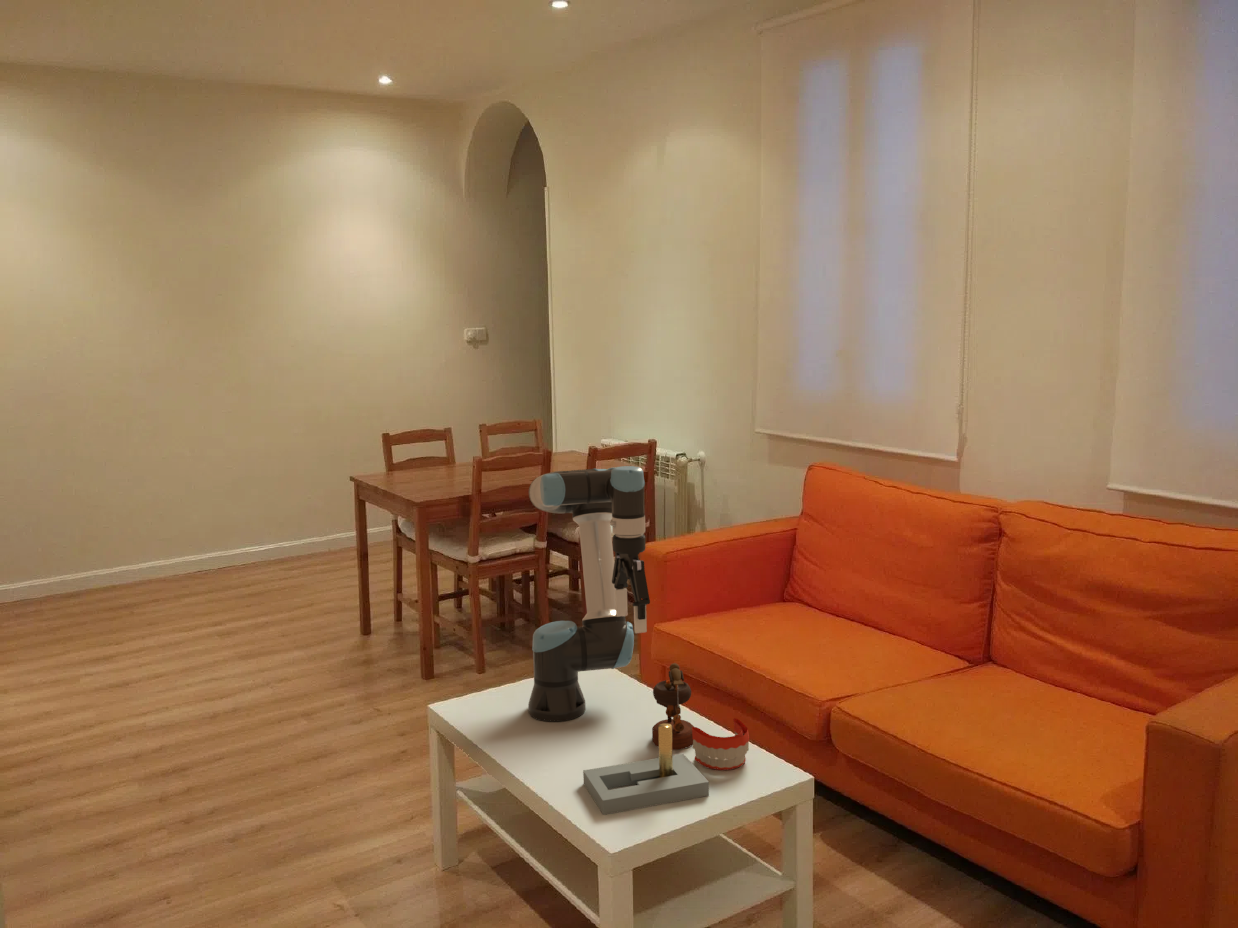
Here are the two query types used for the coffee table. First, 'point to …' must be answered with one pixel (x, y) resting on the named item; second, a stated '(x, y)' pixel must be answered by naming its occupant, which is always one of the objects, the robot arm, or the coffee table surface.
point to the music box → (674, 708)
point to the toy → (721, 748)
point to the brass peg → (665, 750)
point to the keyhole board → (644, 784)
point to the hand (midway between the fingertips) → (630, 623)
